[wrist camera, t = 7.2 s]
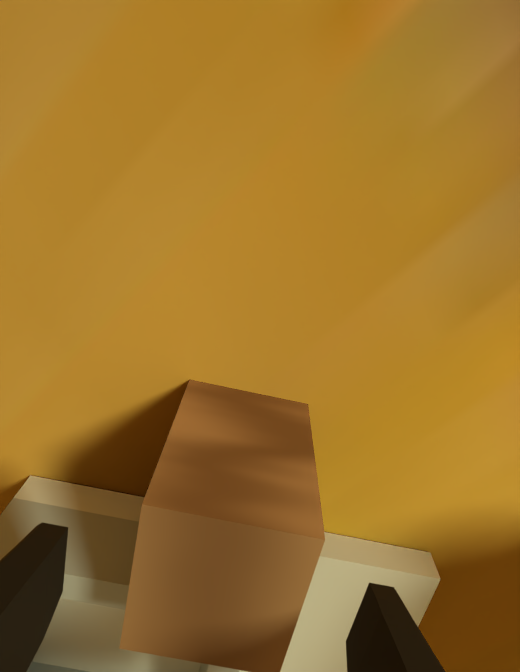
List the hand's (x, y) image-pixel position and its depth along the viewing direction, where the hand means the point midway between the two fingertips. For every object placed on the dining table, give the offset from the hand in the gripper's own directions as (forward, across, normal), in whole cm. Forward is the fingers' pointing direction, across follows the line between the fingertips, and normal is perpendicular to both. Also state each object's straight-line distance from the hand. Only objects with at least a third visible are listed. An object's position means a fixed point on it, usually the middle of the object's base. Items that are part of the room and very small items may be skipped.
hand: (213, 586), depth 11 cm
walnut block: (+6, 0, 0) cm, 6 cm away
